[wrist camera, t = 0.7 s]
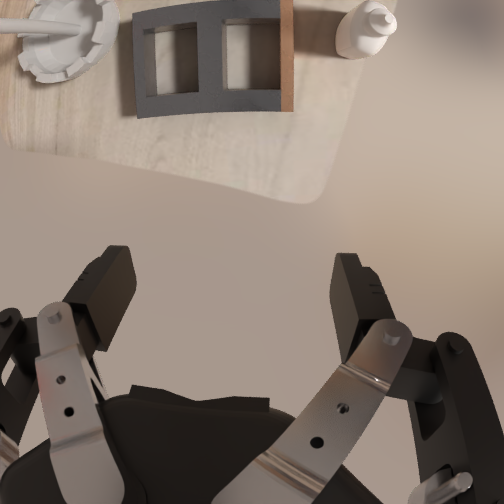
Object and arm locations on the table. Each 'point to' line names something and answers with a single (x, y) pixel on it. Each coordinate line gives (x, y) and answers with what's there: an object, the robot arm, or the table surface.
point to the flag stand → (64, 37)
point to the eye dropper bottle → (364, 30)
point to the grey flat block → (211, 57)
